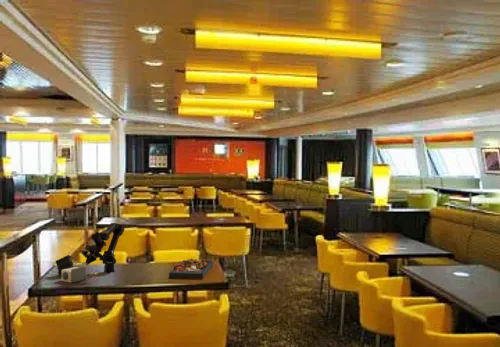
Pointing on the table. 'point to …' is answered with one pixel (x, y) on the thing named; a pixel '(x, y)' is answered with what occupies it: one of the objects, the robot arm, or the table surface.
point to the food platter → (191, 269)
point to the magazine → (64, 264)
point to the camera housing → (67, 274)
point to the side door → (79, 273)
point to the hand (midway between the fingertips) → (85, 265)
